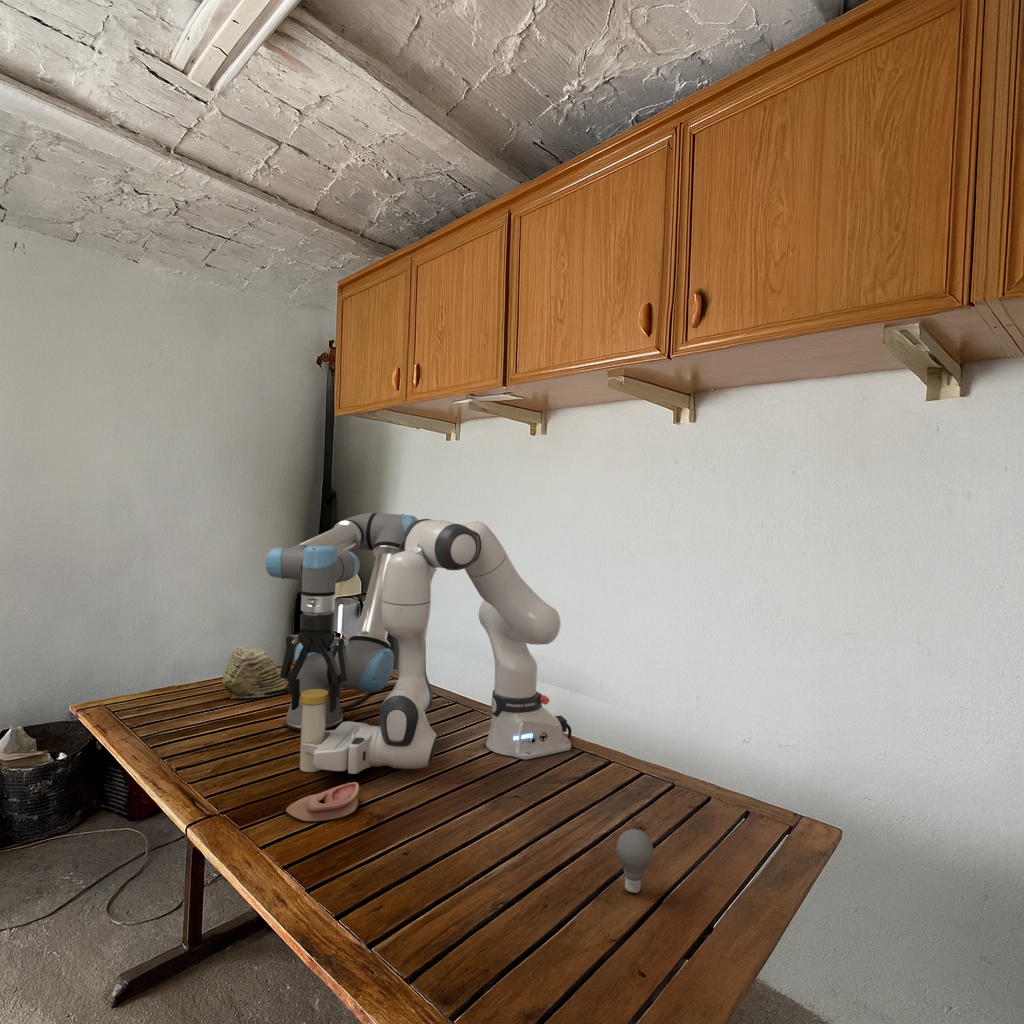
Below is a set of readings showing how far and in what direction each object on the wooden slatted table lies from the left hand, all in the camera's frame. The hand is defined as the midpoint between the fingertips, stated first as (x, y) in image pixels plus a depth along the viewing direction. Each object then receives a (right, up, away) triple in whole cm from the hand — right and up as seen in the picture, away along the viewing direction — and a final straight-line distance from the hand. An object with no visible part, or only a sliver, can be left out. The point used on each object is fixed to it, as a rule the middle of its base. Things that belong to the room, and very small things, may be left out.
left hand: (313, 709), depth 148 cm
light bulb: (+66, -17, -42) cm, 80 cm away
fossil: (-34, -11, +50) cm, 62 cm away
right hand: (-1, -8, 0) cm, 8 cm away
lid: (0, +3, 0) cm, 3 cm away
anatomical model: (+8, -14, -19) cm, 25 cm away
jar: (-1, -14, 0) cm, 14 cm away
